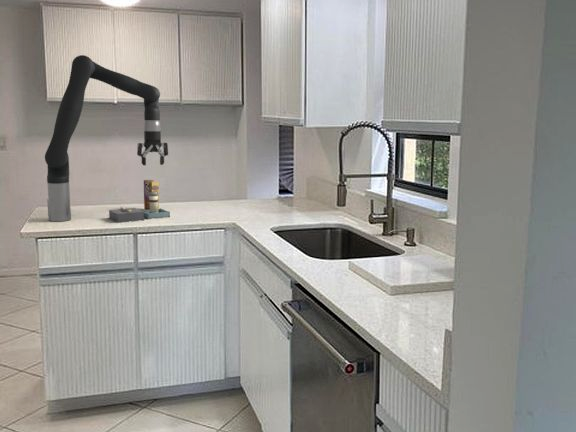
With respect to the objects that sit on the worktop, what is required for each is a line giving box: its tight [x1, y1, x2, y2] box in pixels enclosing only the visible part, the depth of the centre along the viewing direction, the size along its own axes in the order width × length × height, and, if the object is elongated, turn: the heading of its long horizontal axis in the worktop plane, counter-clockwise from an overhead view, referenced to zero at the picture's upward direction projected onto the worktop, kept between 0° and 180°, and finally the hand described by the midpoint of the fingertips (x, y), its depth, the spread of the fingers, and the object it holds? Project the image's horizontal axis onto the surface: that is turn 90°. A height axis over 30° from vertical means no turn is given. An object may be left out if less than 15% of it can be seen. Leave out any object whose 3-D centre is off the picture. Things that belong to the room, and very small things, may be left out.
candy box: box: [143, 179, 160, 210], centre depth 296 cm, size 9×4×15 cm, turn 39°
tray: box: [140, 207, 171, 220], centre depth 282 cm, size 11×11×2 cm
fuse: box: [149, 192, 159, 213], centre depth 281 cm, size 4×4×11 cm
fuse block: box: [108, 206, 145, 224], centre depth 273 cm, size 12×12×5 cm
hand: (153, 165), depth 278 cm, fingers open, 8 cm apart
